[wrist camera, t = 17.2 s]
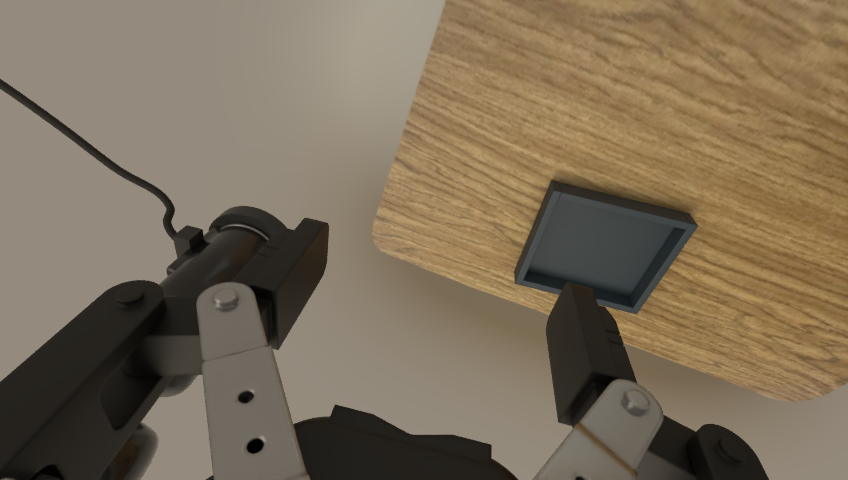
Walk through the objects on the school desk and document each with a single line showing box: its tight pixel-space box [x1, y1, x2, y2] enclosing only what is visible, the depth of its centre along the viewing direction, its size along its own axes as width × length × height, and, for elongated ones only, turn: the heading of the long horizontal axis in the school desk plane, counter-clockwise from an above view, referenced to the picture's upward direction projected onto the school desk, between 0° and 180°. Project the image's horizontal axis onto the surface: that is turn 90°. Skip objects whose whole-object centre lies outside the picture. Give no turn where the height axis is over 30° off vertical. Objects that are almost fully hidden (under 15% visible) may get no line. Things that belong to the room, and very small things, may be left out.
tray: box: [514, 181, 698, 314], centre depth 44 cm, size 15×13×2 cm
